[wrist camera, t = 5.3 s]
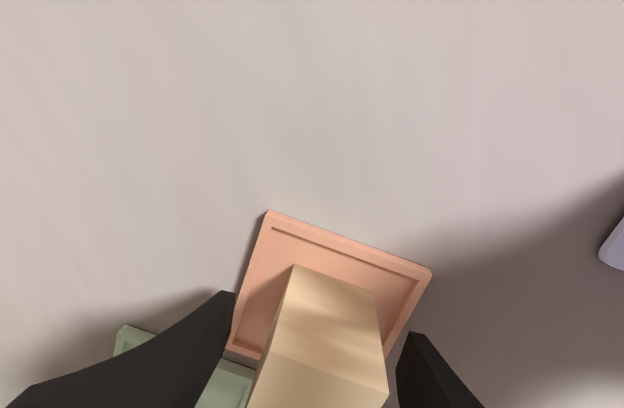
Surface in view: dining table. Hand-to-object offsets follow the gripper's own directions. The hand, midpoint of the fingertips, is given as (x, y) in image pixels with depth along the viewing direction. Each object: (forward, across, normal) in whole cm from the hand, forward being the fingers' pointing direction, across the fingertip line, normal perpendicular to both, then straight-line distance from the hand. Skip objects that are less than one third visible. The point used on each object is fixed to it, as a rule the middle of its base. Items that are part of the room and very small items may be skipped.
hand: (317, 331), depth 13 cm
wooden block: (+1, 0, 0) cm, 1 cm away
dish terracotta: (+2, 0, 0) cm, 2 cm away
